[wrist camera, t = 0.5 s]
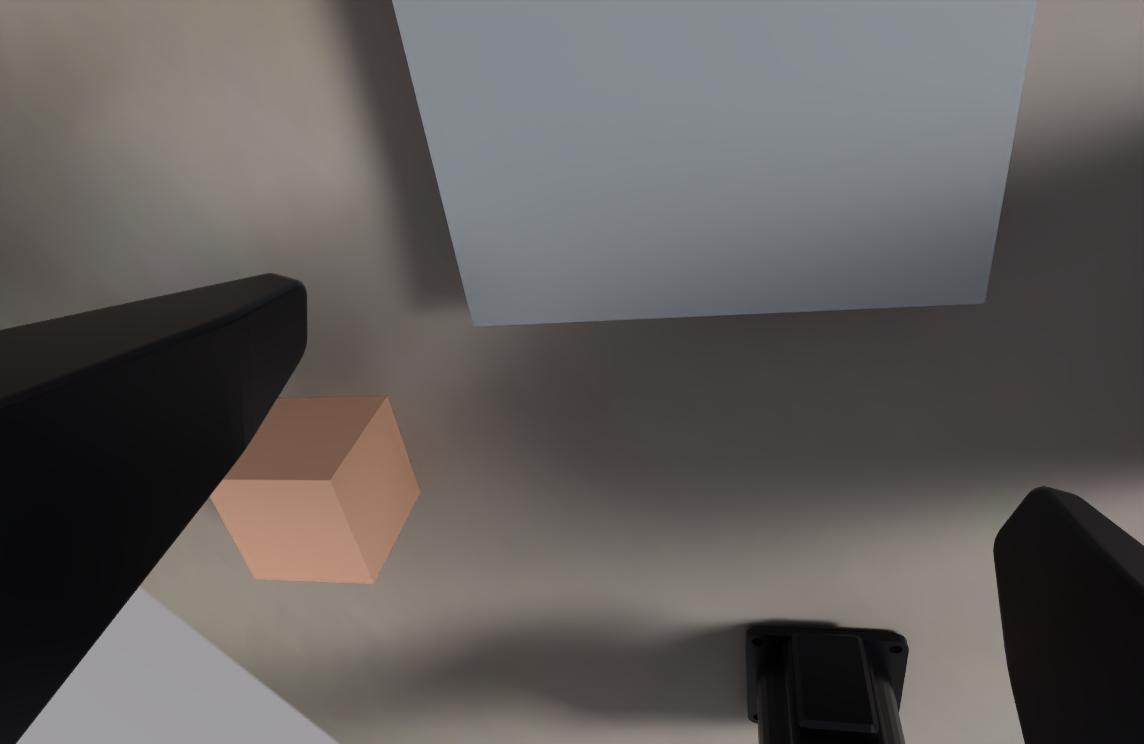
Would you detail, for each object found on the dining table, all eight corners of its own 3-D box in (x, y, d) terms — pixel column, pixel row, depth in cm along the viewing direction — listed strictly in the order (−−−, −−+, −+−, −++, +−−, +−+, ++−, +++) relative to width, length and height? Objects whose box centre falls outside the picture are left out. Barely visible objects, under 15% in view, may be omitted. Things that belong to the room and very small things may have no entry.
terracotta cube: (421, 491, 30) (373, 583, 26) (316, 490, 32) (254, 578, 27) (388, 394, 28) (329, 480, 24) (275, 397, 29) (200, 479, 25)
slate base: (954, 256, 21) (984, 303, 18) (498, 283, 24) (473, 326, 22) (1051, -424, 14) (1124, -496, 11) (380, -257, 17) (320, -285, 14)
